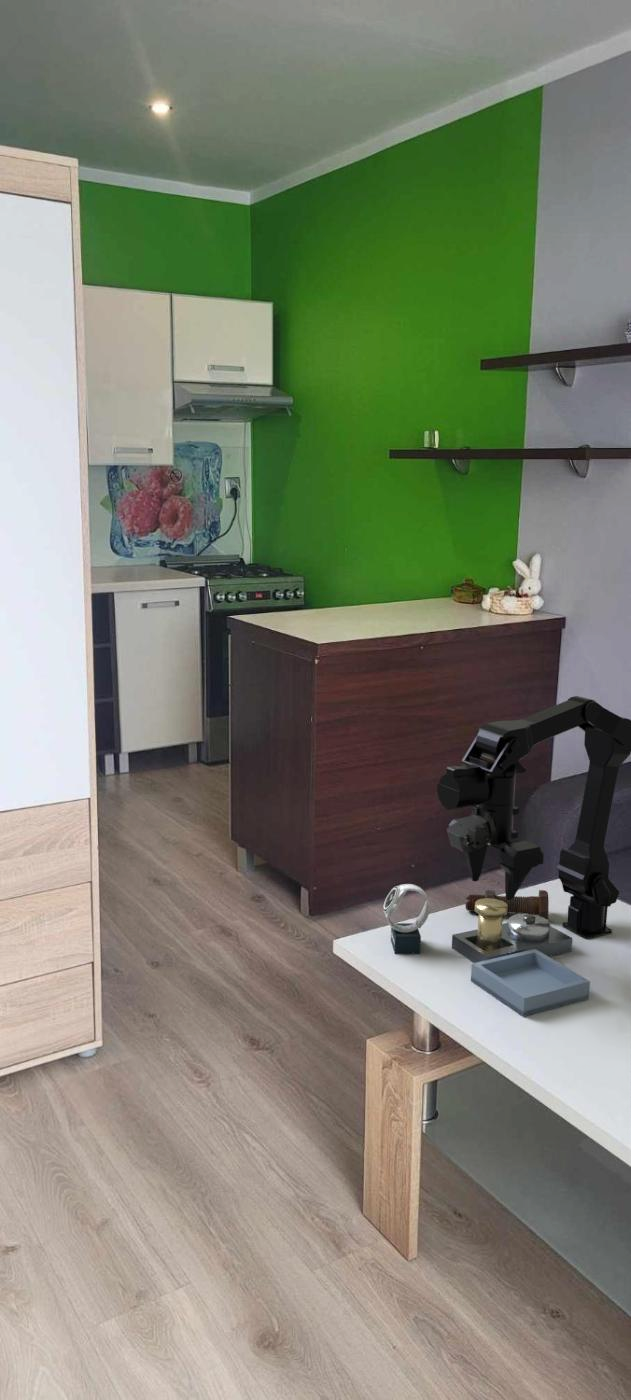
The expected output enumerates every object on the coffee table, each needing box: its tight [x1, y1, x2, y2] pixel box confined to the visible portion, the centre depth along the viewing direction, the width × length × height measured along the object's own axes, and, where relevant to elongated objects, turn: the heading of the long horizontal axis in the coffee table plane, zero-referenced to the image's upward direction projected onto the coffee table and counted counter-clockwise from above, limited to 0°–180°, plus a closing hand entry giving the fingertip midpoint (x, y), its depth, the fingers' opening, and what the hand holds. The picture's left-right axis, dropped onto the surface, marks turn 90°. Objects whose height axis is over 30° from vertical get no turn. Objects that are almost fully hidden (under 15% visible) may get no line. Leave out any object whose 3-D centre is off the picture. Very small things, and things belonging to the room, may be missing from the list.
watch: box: [382, 883, 431, 955], centre depth 182 cm, size 6×8×11 cm
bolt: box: [465, 889, 550, 921], centre depth 197 cm, size 6×5×15 cm
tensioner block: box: [451, 913, 573, 964], centre depth 182 cm, size 18×10×6 cm, turn 119°
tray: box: [470, 949, 591, 1017], centre depth 168 cm, size 13×13×3 cm
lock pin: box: [474, 898, 508, 952], centre depth 179 cm, size 5×5×9 cm
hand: (491, 890), depth 178 cm, fingers open, 9 cm apart
